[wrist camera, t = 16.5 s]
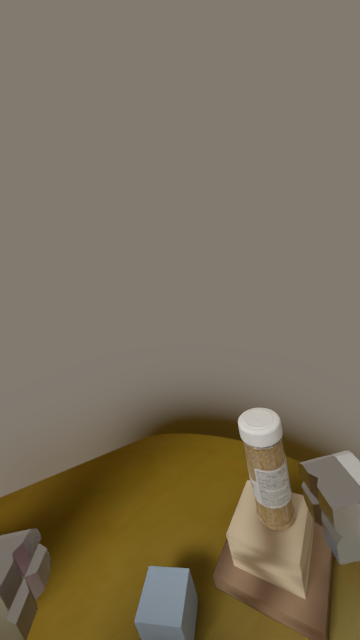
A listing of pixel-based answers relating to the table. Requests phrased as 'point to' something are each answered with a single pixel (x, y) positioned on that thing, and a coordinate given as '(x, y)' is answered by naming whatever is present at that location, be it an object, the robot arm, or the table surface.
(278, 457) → the spice jar
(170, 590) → the block
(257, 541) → the block stand
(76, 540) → the table surface
